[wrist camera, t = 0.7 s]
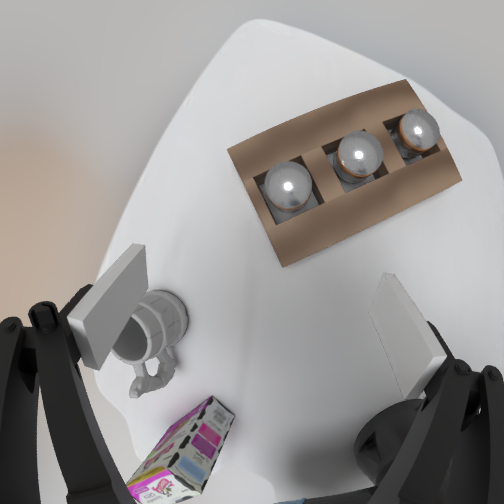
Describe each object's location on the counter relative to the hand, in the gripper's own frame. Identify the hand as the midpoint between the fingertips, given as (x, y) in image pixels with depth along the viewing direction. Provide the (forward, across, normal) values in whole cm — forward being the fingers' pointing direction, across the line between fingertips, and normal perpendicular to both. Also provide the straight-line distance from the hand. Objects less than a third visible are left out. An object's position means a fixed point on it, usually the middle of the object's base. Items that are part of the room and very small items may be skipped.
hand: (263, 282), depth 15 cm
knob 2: (+19, -9, -5) cm, 21 cm away
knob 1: (+18, -2, -1) cm, 18 cm away
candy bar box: (+9, +6, +32) cm, 34 cm away
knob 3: (+19, -16, -9) cm, 27 cm away
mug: (+15, +11, +19) cm, 27 cm away
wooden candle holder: (+21, -10, -4) cm, 24 cm away
